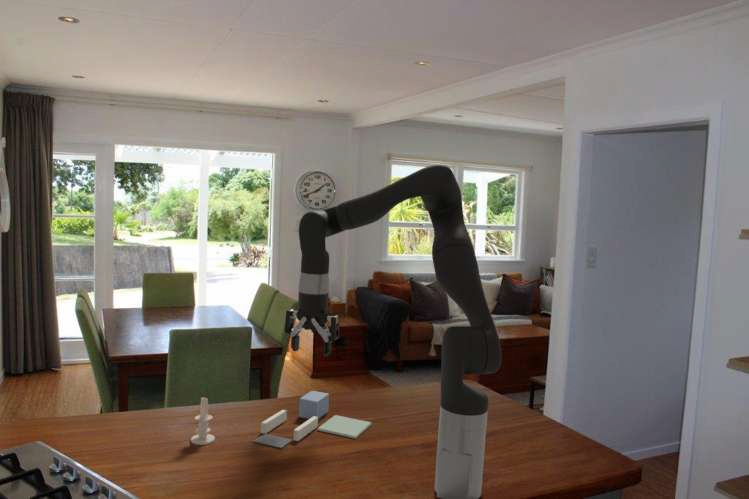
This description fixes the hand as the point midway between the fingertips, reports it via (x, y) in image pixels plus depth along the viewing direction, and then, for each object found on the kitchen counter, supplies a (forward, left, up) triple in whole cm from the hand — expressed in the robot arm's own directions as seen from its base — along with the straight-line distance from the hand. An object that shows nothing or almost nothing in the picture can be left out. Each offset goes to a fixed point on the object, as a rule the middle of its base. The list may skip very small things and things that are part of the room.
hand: (310, 353), depth 155 cm
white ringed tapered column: (-25, +14, -17) cm, 33 cm away
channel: (-13, 0, -17) cm, 21 cm away
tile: (-2, -11, -17) cm, 20 cm away
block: (+2, -1, -17) cm, 17 cm away
